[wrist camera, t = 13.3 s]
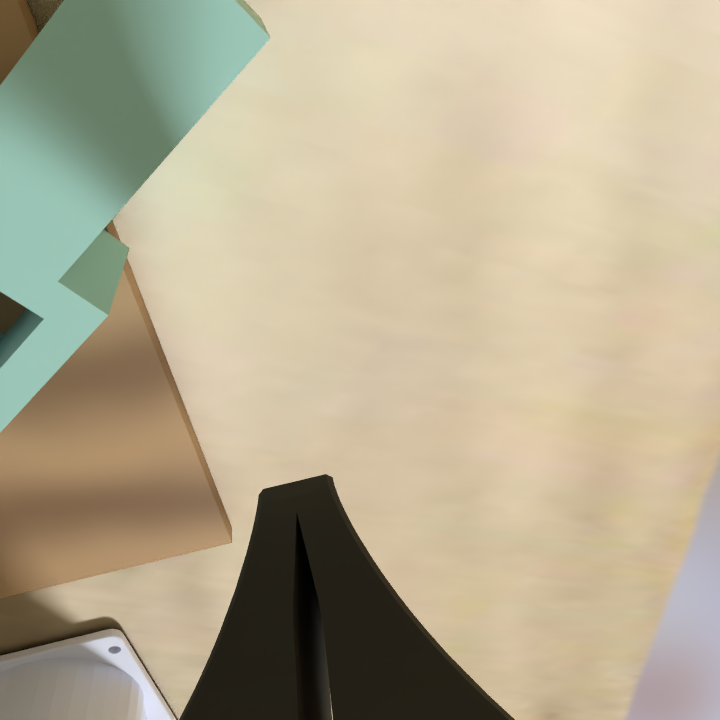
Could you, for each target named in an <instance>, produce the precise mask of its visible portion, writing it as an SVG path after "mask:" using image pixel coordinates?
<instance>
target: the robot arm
mask: <svg viewBox="0 0 720 720" xmlns="http://www.w3.org/2000/svg"><path fill="white" fill-rule="evenodd" d="M330 694H331V699H330ZM331 704H332V713H333V720H515V719H514V718H512V717H511V716H510V715H509V714H508V713H507V712H506V711H505V710H504V709H503V708H502V707H501V706H499V705H498V704H497V703H496V702H495V701H494V700H493V699H492V698H491V697H490V696H489V695H488V694H487V693H486V692H485V691H484V690H483V689H482V688H481V687H480V686H479V685H478V684H477V683H476V682H475V681H474V680H473V679H472V678H471V677H470V676H469V675H468V674H467V673H466V672H465V671H464V670H463V669H462V668H461V667H460V666H459V665H458V664H457V663H456V662H455V661H454V660H453V659H452V658H451V657H450V656H449V655H448V654H447V653H446V652H445V650H444V649H443V648H442V647H441V646H440V645H439V644H438V643H437V641H436V640H435V639H434V638H433V637H432V636H431V635H430V634H429V632H428V631H427V630H426V629H425V628H424V627H423V625H422V624H421V623H420V622H419V621H418V619H417V618H416V617H415V616H414V615H413V613H412V612H411V611H410V610H409V608H408V607H407V606H406V605H405V603H404V602H403V601H402V599H401V598H400V597H399V595H398V594H397V593H396V591H395V590H394V589H393V587H392V586H391V585H390V583H389V582H388V580H387V579H386V578H385V576H384V575H383V574H382V572H381V571H380V569H379V568H378V566H377V565H376V563H375V562H374V560H373V559H372V557H371V555H370V554H369V552H368V551H367V549H366V547H365V546H364V544H363V543H362V541H361V539H360V538H359V536H358V535H357V533H356V531H355V529H354V528H353V526H352V524H351V522H350V520H349V518H348V516H347V514H346V512H345V510H344V508H343V506H342V504H341V502H340V499H339V497H338V494H337V491H336V489H335V486H334V482H333V478H332V477H330V476H328V475H326V474H325V475H321V476H317V477H312V478H308V479H304V480H300V481H295V482H291V483H287V484H283V485H279V486H274V487H270V488H266V489H263V490H262V492H261V493H260V494H259V498H258V506H257V511H256V516H255V521H254V526H253V530H252V534H251V538H250V542H249V546H248V550H247V553H246V557H245V560H244V563H243V567H242V570H241V573H240V576H239V580H238V583H237V586H236V589H235V592H234V595H233V598H232V600H231V603H230V606H229V609H228V611H227V614H226V617H225V619H224V622H223V625H222V627H221V630H220V633H219V635H218V638H217V640H216V643H215V645H214V647H213V650H212V652H211V655H210V657H209V659H208V661H207V664H206V666H205V668H204V670H203V672H202V675H201V677H200V679H199V681H198V683H197V685H196V688H195V690H194V692H193V694H192V696H191V698H190V700H189V702H188V704H187V705H186V707H185V709H184V711H183V713H182V715H181V717H180V719H179V720H332V714H331ZM0 720H176V719H175V717H174V715H173V714H172V712H171V710H170V709H169V707H168V706H167V704H166V702H165V701H164V699H163V697H162V696H161V694H160V693H159V691H158V689H157V688H156V686H155V684H154V683H153V681H152V680H151V678H150V676H149V675H148V673H147V671H146V670H145V668H144V667H143V665H142V663H141V662H140V660H139V659H138V657H137V655H136V654H135V652H134V650H133V649H132V647H131V646H130V644H129V642H128V641H127V639H126V637H125V636H124V634H123V633H122V632H121V631H120V630H117V629H107V630H103V631H99V632H95V633H91V634H86V635H82V636H78V637H74V638H70V639H66V640H62V641H58V642H54V643H50V644H46V645H42V646H38V647H34V648H30V649H26V650H22V651H18V652H14V653H10V654H6V655H1V656H0Z"/></svg>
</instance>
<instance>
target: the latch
mask: <svg viewBox="0 0 720 720" xmlns="http://www.w3.org/2000/svg"><path fill="white" fill-rule="evenodd" d="M269 39H270V36H269V34H268V32H267V30H266V28H265V26H264V24H263V22H262V20H261V18H260V17H259V16H258V15H257V14H256V13H255V11H254V10H253V9H252V8H251V7H250V6H249V5H248V4H247V3H246V2H245V1H244V0H64V1H63V2H62V3H61V5H60V6H59V7H58V9H57V10H56V11H55V13H54V14H53V15H52V17H51V18H50V20H49V21H48V22H47V24H46V25H45V26H44V28H43V29H42V30H41V32H40V33H39V34H38V36H37V37H36V38H35V40H34V41H33V42H32V44H31V45H30V46H29V48H28V49H27V50H26V52H25V53H24V54H23V56H22V57H21V58H20V60H19V61H18V62H17V64H16V65H15V66H14V68H13V69H12V70H11V72H10V73H9V74H8V76H7V77H6V78H5V80H4V81H3V82H2V84H1V85H0V292H2V293H3V294H5V295H7V296H8V297H10V298H11V299H13V300H15V301H16V302H18V303H19V304H21V305H23V306H24V307H26V308H27V309H26V310H25V311H24V312H23V313H22V315H21V316H20V317H19V318H18V319H17V320H16V322H15V323H14V324H13V325H12V326H11V327H10V328H9V330H8V331H7V332H6V333H5V334H3V333H2V332H0V432H1V431H2V430H3V429H4V428H5V427H6V426H7V425H8V424H9V423H10V422H11V420H12V419H13V418H14V417H15V416H16V415H17V414H18V413H19V412H20V411H21V410H22V409H23V407H24V406H25V405H26V404H27V403H28V402H29V401H30V400H31V399H32V398H33V397H34V396H35V394H36V393H37V392H38V391H39V390H40V389H41V388H42V387H43V386H44V385H45V384H46V382H47V381H48V380H49V379H50V378H51V377H52V376H53V375H54V374H55V373H56V372H57V371H58V369H59V368H60V367H61V366H62V365H63V364H64V363H65V362H66V361H67V360H68V359H69V358H70V356H71V355H72V354H73V353H74V352H75V351H76V350H77V349H78V348H79V347H80V346H81V345H82V343H83V342H84V341H85V340H86V339H87V338H88V337H89V336H90V335H91V334H92V333H93V332H94V330H95V329H96V328H97V327H98V326H99V325H100V324H101V323H102V322H103V321H104V320H105V318H106V317H107V316H108V315H109V312H110V309H111V306H112V302H113V299H114V296H115V293H116V290H117V286H118V283H119V280H120V277H121V274H122V271H123V267H124V264H125V261H126V258H127V255H128V251H129V248H128V247H127V246H126V245H124V244H123V243H122V242H120V241H119V240H118V239H116V238H115V237H113V236H112V235H111V234H109V233H108V232H107V231H105V230H104V228H105V227H106V226H107V225H108V223H109V222H110V221H111V220H112V219H113V218H114V217H115V215H116V214H117V213H118V212H119V211H120V210H121V209H122V207H123V206H124V205H125V204H126V203H127V202H128V201H129V199H130V198H131V197H132V196H133V195H134V194H135V192H136V191H137V190H138V189H139V188H140V187H141V186H142V184H143V183H144V182H145V181H146V180H147V179H148V178H149V176H150V175H151V174H152V173H153V172H154V171H155V170H156V168H157V167H158V166H159V165H160V164H161V163H162V162H163V160H164V159H165V158H166V157H167V156H168V155H169V153H170V152H171V151H172V150H173V149H174V148H175V147H176V145H177V144H178V143H179V142H180V141H181V140H182V139H183V137H184V136H185V135H186V134H187V133H188V132H189V131H190V129H191V128H192V127H193V126H194V125H195V124H196V123H197V121H198V120H199V119H200V118H201V117H202V116H203V114H204V113H205V112H206V111H207V110H208V109H209V108H210V106H211V105H212V104H213V103H214V102H215V101H216V100H217V98H218V97H219V96H220V95H221V94H222V93H223V92H224V90H225V89H226V88H227V87H228V86H229V85H230V84H231V82H232V81H233V80H234V79H235V78H236V77H237V75H238V74H239V73H240V72H241V71H242V70H243V69H244V67H245V66H246V65H247V64H248V63H249V62H250V61H251V59H252V58H253V57H254V56H255V55H256V54H257V53H258V51H259V50H260V49H261V48H262V47H263V46H264V45H265V43H266V42H267V41H268V40H269Z"/></svg>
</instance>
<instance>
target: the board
mask: <svg viewBox="0 0 720 720" xmlns="http://www.w3.org/2000/svg"><path fill="white" fill-rule="evenodd" d="M38 34H39V31H38V28H37V26H36V23H35V21H34V18H33V16H32V13H31V10H30V8H29V5H28V3H27V0H0V85H1V84H2V82H3V81H4V80H5V78H6V77H7V76H8V74H9V73H10V72H11V70H12V69H13V68H14V66H15V65H16V64H17V62H18V61H19V60H20V58H21V57H22V56H23V54H24V53H25V52H26V50H27V49H28V48H29V46H30V45H31V44H32V42H33V41H34V40H35V38H36V37H37V36H38ZM104 230H105V231H107V232H108V233H109V234H111V235H112V236H113V237H115V238H116V239H118V240H119V241H120V239H119V237H118V234H117V231H116V229H115V226H114V224H113V221H112V220H111V221H110V222H109V223H108V225H107V226H106V227H105V228H104ZM26 309H27V308H26V307H24V306H23V305H21V304H19V303H18V302H16V301H15V300H13V299H11V298H10V297H8V296H7V295H5V294H3V293H2V292H0V332H2V333H3V334H5V333H6V332H7V331H8V330H9V328H10V327H11V326H12V325H13V324H14V323H15V322H16V320H17V319H18V318H19V317H20V316H21V315H22V313H23V312H24V311H25V310H26ZM229 543H232V527H231V524H230V522H229V519H228V517H227V514H226V512H225V509H224V506H223V504H222V501H221V499H220V496H219V494H218V491H217V488H216V486H215V483H214V481H213V478H212V476H211V473H210V470H209V468H208V465H207V463H206V460H205V458H204V455H203V452H202V450H201V447H200V445H199V442H198V440H197V437H196V434H195V432H194V429H193V427H192V424H191V422H190V419H189V416H188V414H187V411H186V409H185V406H184V404H183V401H182V398H181V396H180V393H179V391H178V388H177V386H176V383H175V380H174V378H173V375H172V373H171V370H170V368H169V365H168V362H167V360H166V357H165V355H164V352H163V350H162V347H161V344H160V342H159V339H158V337H157V334H156V332H155V329H154V326H153V324H152V321H151V319H150V316H149V314H148V311H147V308H146V306H145V303H144V301H143V298H142V296H141V293H140V291H139V288H138V285H137V283H136V280H135V278H134V275H133V273H132V270H131V267H130V265H129V262H128V260H127V258H126V261H125V264H124V267H123V271H122V274H121V277H120V280H119V283H118V286H117V290H116V293H115V296H114V299H113V302H112V306H111V309H110V312H109V315H108V316H107V317H106V318H105V320H104V321H103V322H102V323H101V324H100V325H99V326H98V327H97V328H96V329H95V330H94V332H93V333H92V334H91V335H90V336H89V337H88V338H87V339H86V340H85V341H84V342H83V343H82V345H81V346H80V347H79V348H78V349H77V350H76V351H75V352H74V353H73V354H72V355H71V356H70V358H69V359H68V360H67V361H66V362H65V363H64V364H63V365H62V366H61V367H60V368H59V369H58V371H57V372H56V373H55V374H54V375H53V376H52V377H51V378H50V379H49V380H48V381H47V382H46V384H45V385H44V386H43V387H42V388H41V389H40V390H39V391H38V392H37V393H36V394H35V396H34V397H33V398H32V399H31V400H30V401H29V402H28V403H27V404H26V405H25V406H24V407H23V409H22V410H21V411H20V412H19V413H18V414H17V415H16V416H15V417H14V418H13V419H12V420H11V422H10V423H9V424H8V425H7V426H6V427H5V428H4V429H3V430H2V431H1V432H0V599H1V598H5V597H9V596H13V595H17V594H22V593H26V592H30V591H34V590H38V589H42V588H46V587H51V586H55V585H59V584H63V583H67V582H71V581H75V580H79V579H84V578H88V577H92V576H96V575H100V574H104V573H108V572H113V571H117V570H121V569H125V568H129V567H133V566H137V565H142V564H146V563H150V562H154V561H158V560H162V559H166V558H171V557H175V556H179V555H183V554H187V553H191V552H195V551H200V550H204V549H208V548H212V547H216V546H220V545H224V544H229Z"/></svg>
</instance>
